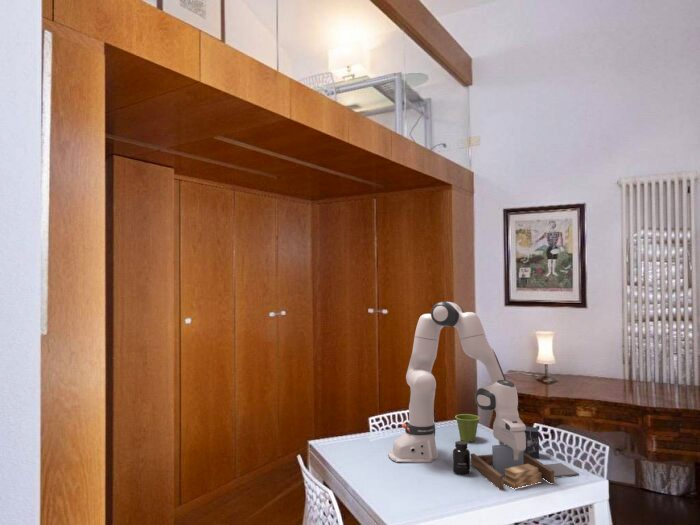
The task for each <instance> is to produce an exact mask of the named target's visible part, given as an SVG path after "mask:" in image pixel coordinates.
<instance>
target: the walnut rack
mask: <svg viewBox="0 0 700 525" xmlns="http://www.w3.org/2000/svg"><path fill="white" fill-rule="evenodd" d="M523 458H524V464H530V465H533V466H535V467H537V468H538V472H540V473H541V475H542V478H544V479H545V480H547V481H548V482H550V483H555V478H554V470H552V469H550V468H549V467H547V466H545V464H544V463H542V462H541V461H539V460H537V459H536V458H532V457H531V456H529V455H528V454H526V453H524V452H523ZM470 467H472V468H473V469H475V470H476V471H477V472H478V473H479V474H480V475H481V476H482V477H483V478H485V479H486V478H487V479H486V480H487V481H489V482H490V483H491V482H492V483H493V484H492V483H491V484H492V485H494V486H495V487H496V488H497V487H498V488H499V489H498V488H497V489H498V490H500V489H502V490H504V484H503V479H504V475H502V474H500V473H499V472H498V471H496V470H495V469H494V468H493V456H492V453H490V454H479V455H477V454H475V453H470ZM545 480H544V481H545ZM548 482H547V483H548Z"/></svg>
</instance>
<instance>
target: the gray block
mask: <svg viewBox="0 0 700 525" xmlns="http://www.w3.org/2000/svg"><path fill="white" fill-rule="evenodd" d="M491 447H492V449H491V451H492V452H491V454H492V456H493V465H492V468H494V469H495V470H496V471H498V472H499V473H500V474H502V475H503V476H505V469H506V468H511V467H515V466H520V465H524V458H523V451H520V452H519V455H518V460H514V459H513V458H512V455H513V454H514V451H513V449H512V448H511V447H509V446H507V445H506V444H505V445H499V444H495V445H491Z"/></svg>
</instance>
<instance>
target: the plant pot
mask: <svg viewBox="0 0 700 525" xmlns="http://www.w3.org/2000/svg"><path fill="white" fill-rule="evenodd" d="M454 418H455V419H456V423H457V426H458V428H457V429H458V433H459V439H460V441H464V442H467V443H470V442H476V439H477V438H476V437H477V432H478V424H479V420H480V416H478V415H475V414H469V413H461V414H456V415H455V417H454Z"/></svg>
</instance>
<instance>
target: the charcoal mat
mask: <svg viewBox="0 0 700 525" xmlns="http://www.w3.org/2000/svg"><path fill="white" fill-rule="evenodd" d="M544 465H545V466H547V467H549V468H550V469H552V470H554V477H559V478H563V477H562V476H569V477H574V476H573V475H579V476H580V473H579V472H578V471H575V470H574V469H572V468H570V467H568V466H567V465H565V464H563V463H561V462H560V463H546V464H544Z"/></svg>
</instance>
